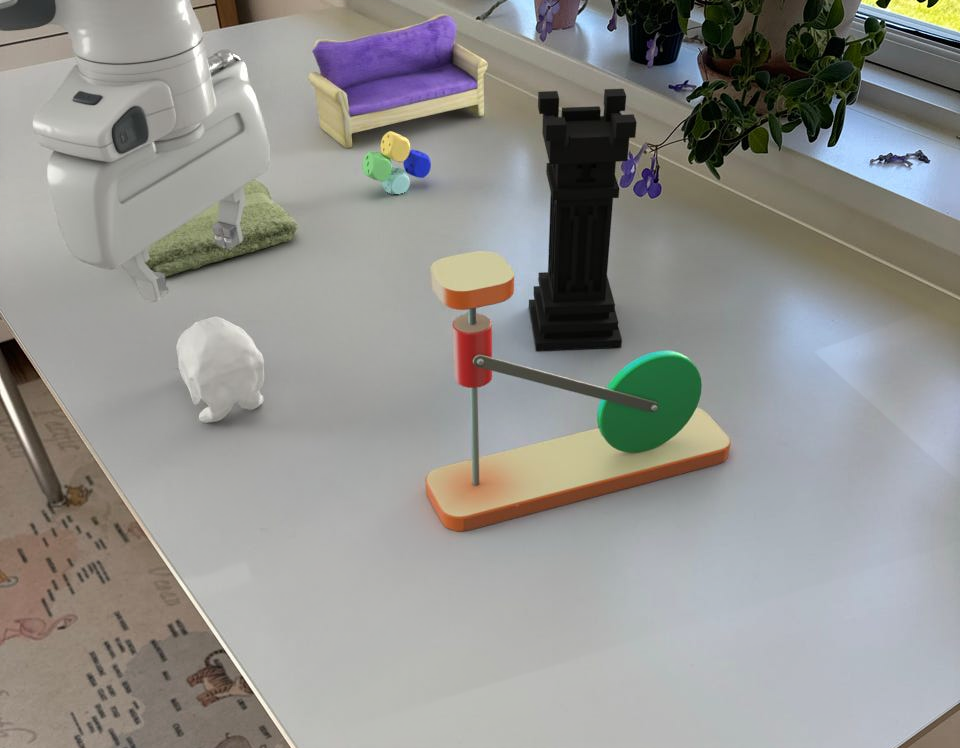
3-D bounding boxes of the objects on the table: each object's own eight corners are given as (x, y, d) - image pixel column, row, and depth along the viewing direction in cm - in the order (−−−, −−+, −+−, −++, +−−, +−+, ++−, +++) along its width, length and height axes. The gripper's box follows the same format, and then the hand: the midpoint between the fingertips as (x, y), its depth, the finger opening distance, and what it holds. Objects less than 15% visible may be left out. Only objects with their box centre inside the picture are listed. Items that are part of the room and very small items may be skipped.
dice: (423, 177, 123) (420, 120, 118) (434, 185, 121) (431, 128, 117) (362, 193, 120) (356, 136, 115) (372, 201, 119) (367, 144, 114)
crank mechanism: (448, 535, 79) (437, 304, 65) (421, 484, 84) (404, 257, 70) (735, 459, 85) (781, 232, 71) (695, 415, 89) (732, 193, 75)
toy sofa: (341, 151, 128) (331, 61, 121) (314, 128, 133) (302, 40, 126) (489, 117, 135) (488, 29, 127) (457, 95, 140) (455, 10, 133)
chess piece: (535, 351, 97) (541, 127, 82) (528, 307, 102) (533, 90, 88) (621, 347, 97) (642, 123, 82) (609, 303, 102) (627, 86, 88)
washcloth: (111, 234, 114) (103, 205, 112) (264, 198, 120) (259, 170, 117) (144, 286, 106) (136, 256, 104) (305, 245, 112) (301, 215, 109)
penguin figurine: (185, 347, 82) (140, 295, 90) (211, 441, 88) (167, 385, 95) (260, 324, 84) (209, 276, 92) (281, 417, 90) (231, 364, 98)
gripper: (207, 35, 81) (241, 209, 91) (12, 131, 69) (76, 319, 79) (272, 47, 79) (300, 224, 89) (83, 147, 67) (140, 339, 77)
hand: (193, 270), depth 84 cm, fingers open, 8 cm apart
